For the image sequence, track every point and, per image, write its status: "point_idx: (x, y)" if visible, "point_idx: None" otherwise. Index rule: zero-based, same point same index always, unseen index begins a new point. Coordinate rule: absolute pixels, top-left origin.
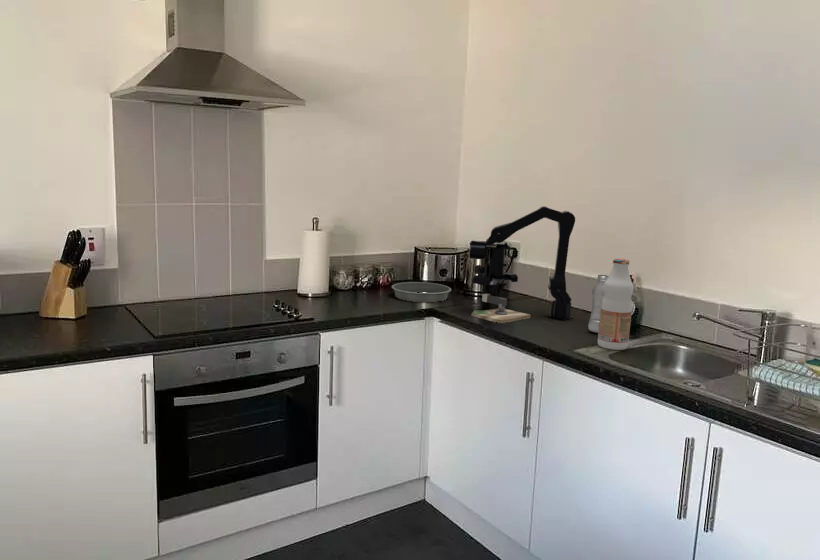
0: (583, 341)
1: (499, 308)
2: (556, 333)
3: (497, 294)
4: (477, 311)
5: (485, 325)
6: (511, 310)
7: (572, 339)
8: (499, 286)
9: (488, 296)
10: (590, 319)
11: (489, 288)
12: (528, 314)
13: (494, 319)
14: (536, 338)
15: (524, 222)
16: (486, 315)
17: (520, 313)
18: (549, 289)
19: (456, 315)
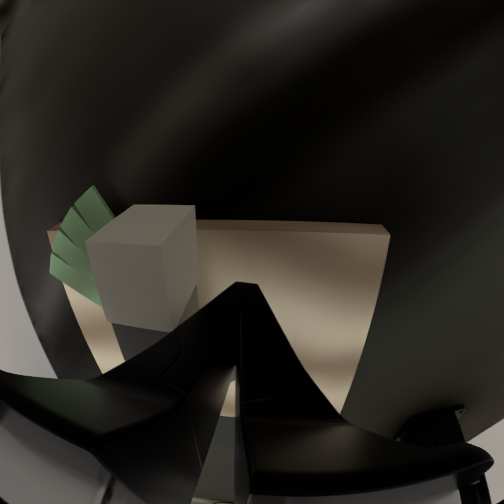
0: (217, 495)
1: None
2: (216, 476)
3: (235, 394)
4: (82, 238)
5: (56, 359)
6: (361, 330)
7: (208, 489)
8: (234, 501)
9: (119, 330)
10: None
11: (123, 381)
12: (338, 412)
13: (103, 369)
14: None
15: None
16: (92, 323)
17: (325, 391)
18: None
19: (8, 174)
